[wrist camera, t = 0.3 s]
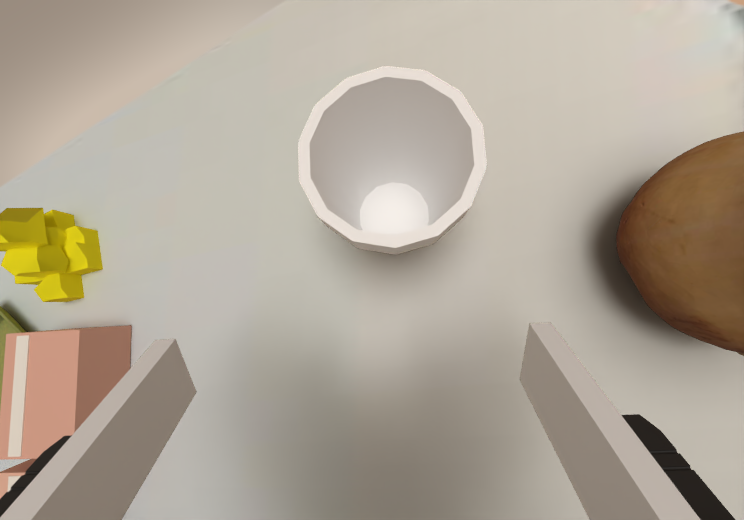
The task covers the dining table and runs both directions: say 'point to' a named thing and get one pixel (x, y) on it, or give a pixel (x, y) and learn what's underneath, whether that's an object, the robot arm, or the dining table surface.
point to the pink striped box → (56, 383)
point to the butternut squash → (692, 242)
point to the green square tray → (5, 324)
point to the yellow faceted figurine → (48, 252)
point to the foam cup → (392, 159)
